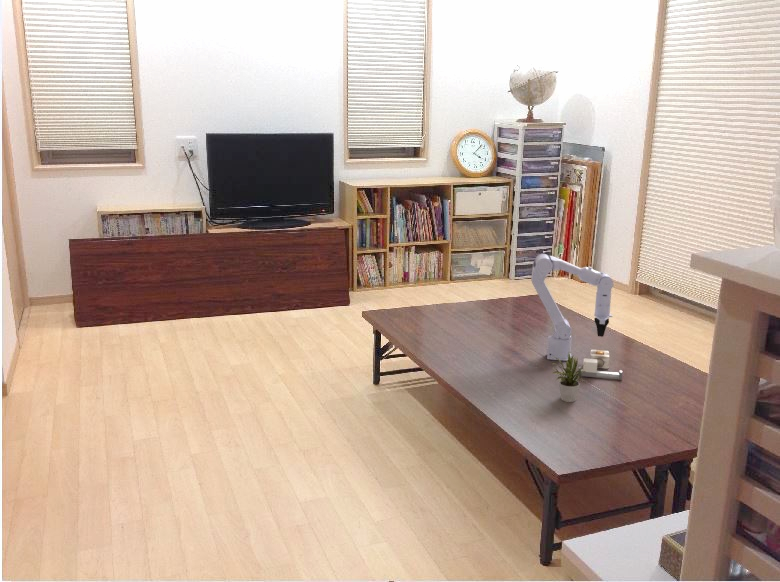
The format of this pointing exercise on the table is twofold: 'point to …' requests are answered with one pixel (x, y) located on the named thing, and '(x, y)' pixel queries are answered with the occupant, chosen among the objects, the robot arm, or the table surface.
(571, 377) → the house plant
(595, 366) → the block
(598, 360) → the cream cage with ball
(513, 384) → the table surface
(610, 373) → the rail
